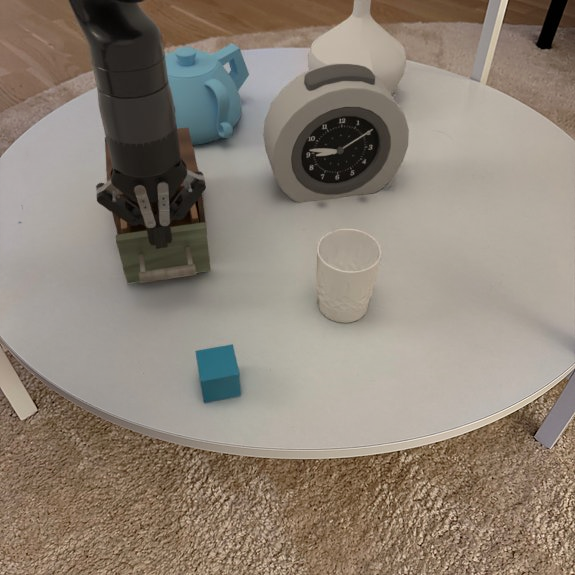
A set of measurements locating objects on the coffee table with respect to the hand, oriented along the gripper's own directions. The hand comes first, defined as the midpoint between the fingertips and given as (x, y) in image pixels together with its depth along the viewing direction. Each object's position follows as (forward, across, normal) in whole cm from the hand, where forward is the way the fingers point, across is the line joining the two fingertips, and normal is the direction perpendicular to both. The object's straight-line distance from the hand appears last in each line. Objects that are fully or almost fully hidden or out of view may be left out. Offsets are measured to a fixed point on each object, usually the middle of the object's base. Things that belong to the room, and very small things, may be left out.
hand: (161, 243), depth 76 cm
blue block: (+8, +4, -17) cm, 19 cm away
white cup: (+9, +22, -8) cm, 25 cm away
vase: (+8, +40, +44) cm, 60 cm away
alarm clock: (+9, +28, +18) cm, 35 cm away
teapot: (+9, +8, +42) cm, 44 cm away
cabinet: (+9, 0, +17) cm, 19 cm away
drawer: (+8, 0, +6) cm, 10 cm away
